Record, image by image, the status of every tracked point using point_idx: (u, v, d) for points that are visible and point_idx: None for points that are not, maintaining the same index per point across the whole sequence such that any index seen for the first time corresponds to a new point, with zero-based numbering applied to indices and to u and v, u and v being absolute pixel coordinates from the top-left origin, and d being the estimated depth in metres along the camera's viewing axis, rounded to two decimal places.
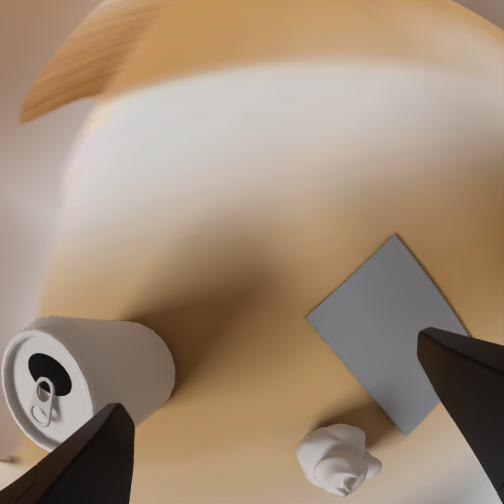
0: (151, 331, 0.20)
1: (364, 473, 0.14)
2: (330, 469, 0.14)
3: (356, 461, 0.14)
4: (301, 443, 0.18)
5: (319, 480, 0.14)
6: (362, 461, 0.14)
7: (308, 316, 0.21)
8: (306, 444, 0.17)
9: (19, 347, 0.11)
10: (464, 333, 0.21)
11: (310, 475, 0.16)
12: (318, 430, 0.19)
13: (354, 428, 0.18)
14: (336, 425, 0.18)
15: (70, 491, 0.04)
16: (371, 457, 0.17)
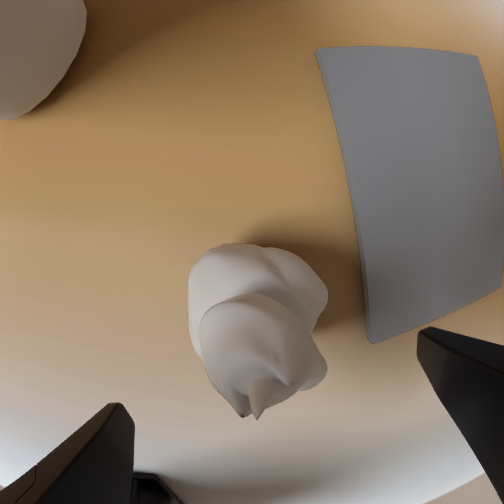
0: None
1: (304, 381, 0.07)
2: (237, 334, 0.07)
3: (301, 343, 0.07)
4: (207, 253, 0.10)
5: (203, 348, 0.08)
6: (312, 350, 0.08)
7: (322, 50, 0.10)
8: (215, 257, 0.10)
9: None
10: (502, 246, 0.13)
11: (194, 328, 0.10)
12: (249, 245, 0.11)
13: (315, 274, 0.11)
14: (286, 251, 0.11)
15: (70, 491, 0.04)
16: (316, 350, 0.11)
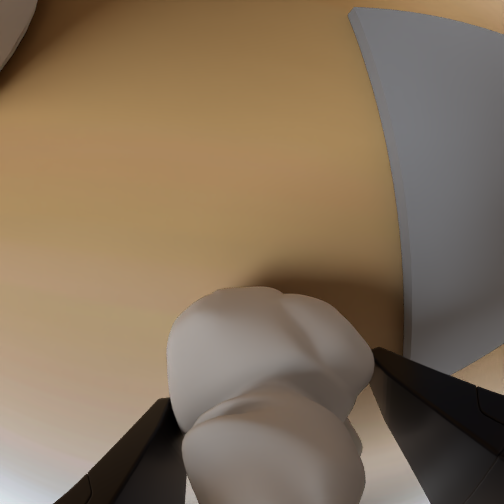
0: None
1: None
2: (247, 477, 0.03)
3: (350, 477, 0.04)
4: (194, 307, 0.07)
5: (191, 475, 0.04)
6: (363, 477, 0.04)
7: (359, 9, 0.06)
8: (206, 320, 0.06)
9: None
10: None
11: (179, 419, 0.06)
12: (260, 291, 0.07)
13: (359, 336, 0.07)
14: (316, 301, 0.07)
15: (131, 499, 0.04)
16: (350, 429, 0.07)
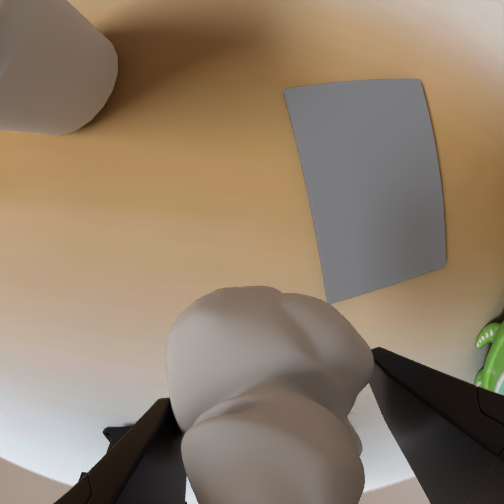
0: (110, 42, 0.13)
1: None
2: (245, 477, 0.03)
3: (349, 477, 0.04)
4: (194, 307, 0.07)
5: (190, 474, 0.04)
6: (362, 477, 0.04)
7: (287, 89, 0.16)
8: (206, 319, 0.06)
9: None
10: (443, 232, 0.19)
11: (178, 418, 0.06)
12: (259, 291, 0.07)
13: (359, 335, 0.07)
14: (316, 301, 0.07)
15: (131, 499, 0.04)
16: (350, 429, 0.07)
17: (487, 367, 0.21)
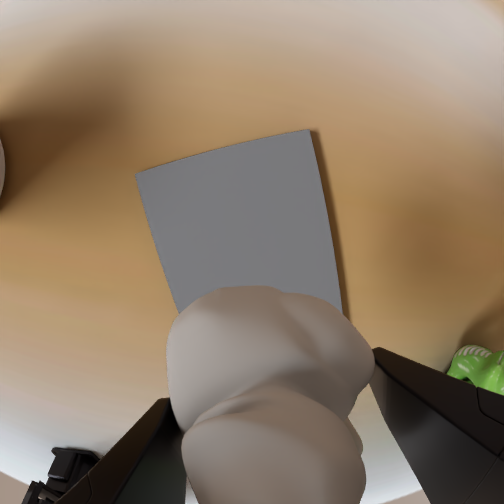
0: None
1: None
2: (246, 476, 0.03)
3: (351, 477, 0.03)
4: (194, 306, 0.06)
5: (190, 474, 0.04)
6: (364, 477, 0.04)
7: (137, 174, 0.16)
8: (206, 318, 0.06)
9: None
10: (338, 309, 0.19)
11: (178, 418, 0.06)
12: (260, 290, 0.07)
13: (359, 335, 0.07)
14: (316, 300, 0.07)
15: (131, 499, 0.04)
16: (350, 428, 0.07)
17: None
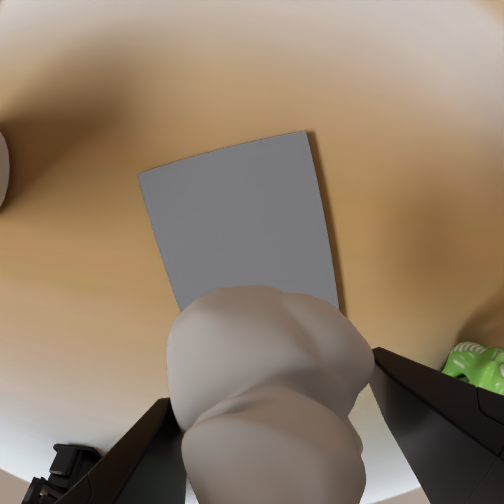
0: (0, 139, 0.14)
1: None
2: (246, 476, 0.03)
3: (351, 477, 0.03)
4: (194, 306, 0.06)
5: (190, 474, 0.04)
6: (364, 477, 0.04)
7: (139, 174, 0.16)
8: (206, 318, 0.06)
9: None
10: (335, 306, 0.19)
11: (178, 418, 0.06)
12: (260, 290, 0.07)
13: (359, 335, 0.07)
14: (316, 300, 0.07)
15: (131, 499, 0.04)
16: (350, 428, 0.07)
17: None
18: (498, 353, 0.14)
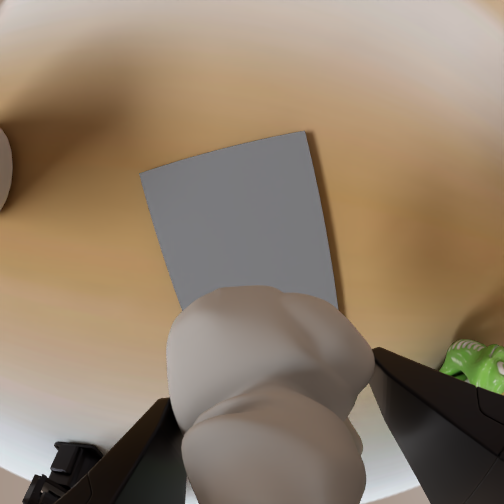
0: (3, 139, 0.14)
1: None
2: (246, 476, 0.03)
3: (351, 477, 0.03)
4: (194, 306, 0.06)
5: (190, 474, 0.04)
6: (364, 477, 0.04)
7: (142, 174, 0.17)
8: (206, 318, 0.06)
9: None
10: (334, 303, 0.20)
11: (178, 418, 0.06)
12: (260, 290, 0.07)
13: (359, 335, 0.07)
14: (316, 300, 0.07)
15: (131, 499, 0.04)
16: (350, 428, 0.07)
17: None
18: (496, 350, 0.14)
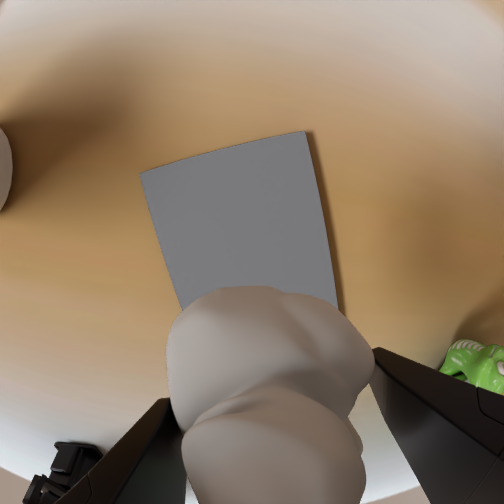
0: (3, 139, 0.14)
1: None
2: (247, 476, 0.03)
3: (351, 477, 0.03)
4: (194, 306, 0.06)
5: (190, 474, 0.04)
6: (364, 477, 0.04)
7: (141, 174, 0.17)
8: (206, 319, 0.06)
9: None
10: (334, 303, 0.20)
11: (178, 418, 0.06)
12: (260, 290, 0.07)
13: (359, 335, 0.07)
14: (316, 300, 0.07)
15: (131, 499, 0.04)
16: (350, 428, 0.07)
17: None
18: (496, 350, 0.14)
